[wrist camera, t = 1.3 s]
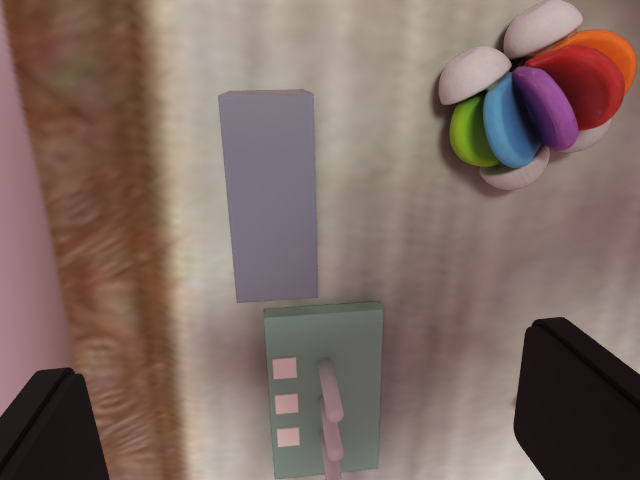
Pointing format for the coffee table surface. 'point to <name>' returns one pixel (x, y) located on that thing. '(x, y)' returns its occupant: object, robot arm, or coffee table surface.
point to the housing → (271, 192)
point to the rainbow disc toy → (535, 93)
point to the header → (324, 387)
